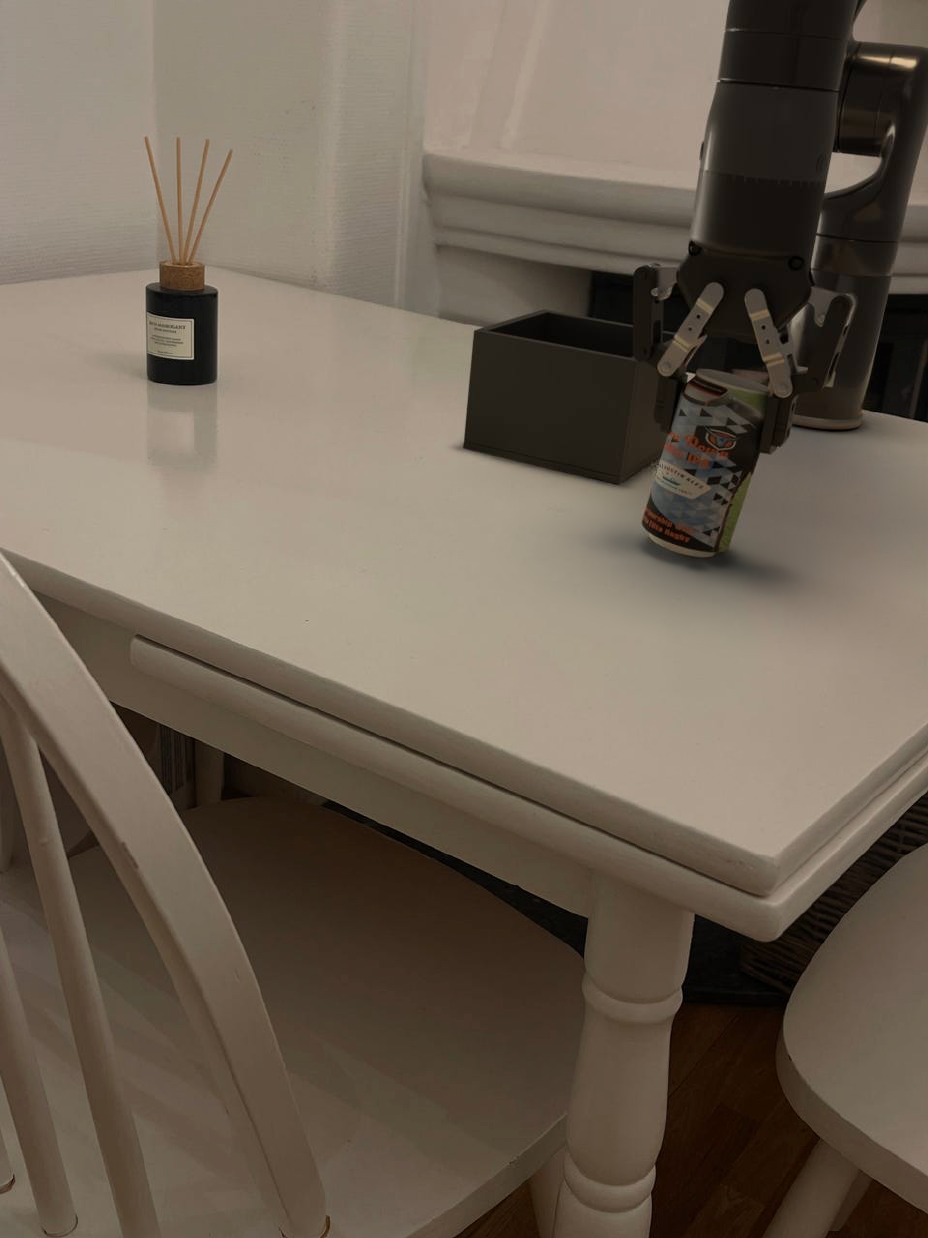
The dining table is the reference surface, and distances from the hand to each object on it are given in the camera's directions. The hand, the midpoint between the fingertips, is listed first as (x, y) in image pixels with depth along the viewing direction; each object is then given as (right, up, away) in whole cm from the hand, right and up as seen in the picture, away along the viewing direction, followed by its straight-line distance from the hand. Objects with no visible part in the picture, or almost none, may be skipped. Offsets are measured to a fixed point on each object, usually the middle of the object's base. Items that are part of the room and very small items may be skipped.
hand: (717, 440), depth 82 cm
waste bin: (-7, +3, +24) cm, 25 cm away
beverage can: (-1, -7, +3) cm, 8 cm away
